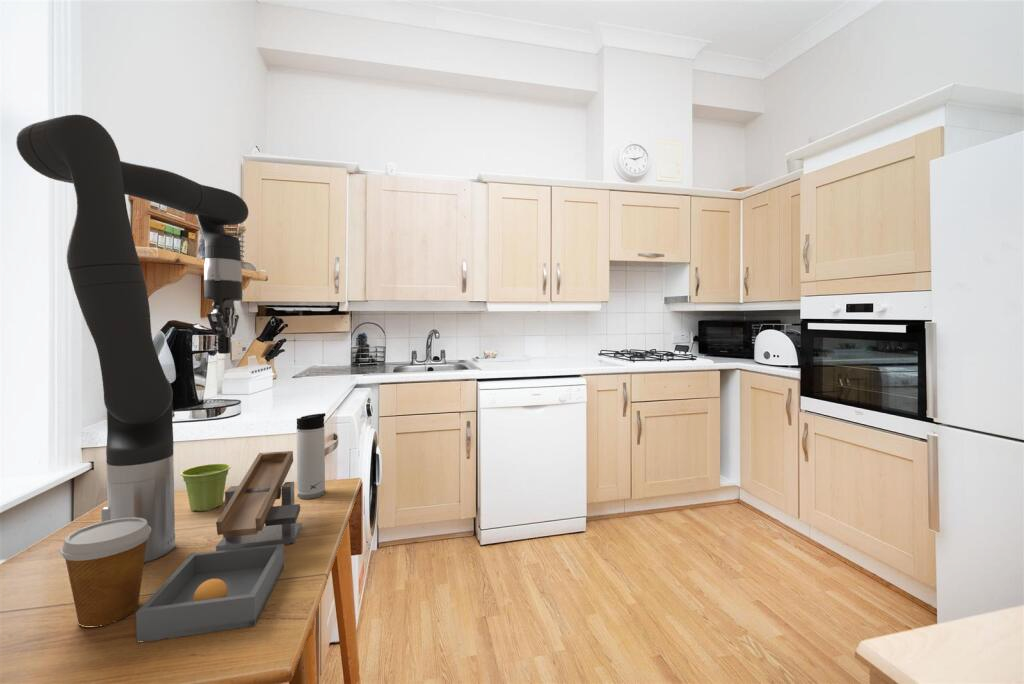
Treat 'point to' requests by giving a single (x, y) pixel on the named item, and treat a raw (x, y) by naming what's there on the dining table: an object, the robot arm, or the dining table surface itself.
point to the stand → (268, 533)
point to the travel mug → (310, 456)
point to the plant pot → (205, 485)
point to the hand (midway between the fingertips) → (224, 353)
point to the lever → (259, 498)
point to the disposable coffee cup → (106, 568)
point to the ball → (210, 590)
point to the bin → (247, 595)
